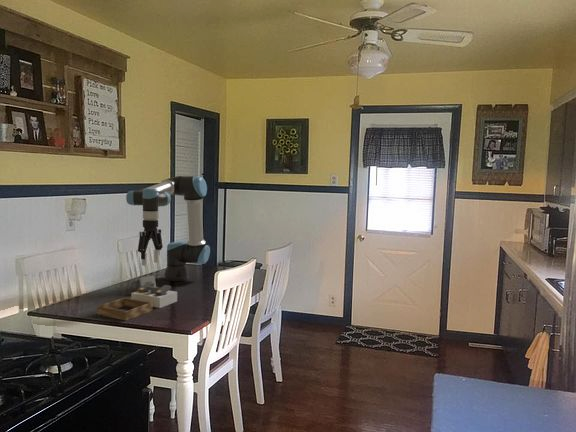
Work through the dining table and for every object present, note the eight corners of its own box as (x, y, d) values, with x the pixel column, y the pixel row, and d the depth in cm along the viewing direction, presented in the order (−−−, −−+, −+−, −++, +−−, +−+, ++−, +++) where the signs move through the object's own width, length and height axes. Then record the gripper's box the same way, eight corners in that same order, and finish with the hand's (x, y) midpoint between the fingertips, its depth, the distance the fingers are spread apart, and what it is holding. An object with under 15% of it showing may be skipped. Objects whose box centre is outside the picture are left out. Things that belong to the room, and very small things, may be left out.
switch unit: (149, 296, 258) (149, 285, 258) (177, 301, 251) (177, 289, 251) (131, 303, 246) (131, 291, 245) (159, 307, 238) (159, 296, 238)
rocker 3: (165, 287, 250) (164, 284, 249) (171, 288, 248) (170, 285, 248) (155, 294, 243) (154, 291, 243) (161, 295, 241) (161, 292, 241)
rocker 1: (148, 284, 254) (147, 282, 254) (154, 285, 253) (153, 283, 252) (138, 291, 247) (137, 289, 247) (144, 292, 246) (143, 289, 245)
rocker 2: (156, 290, 252) (156, 286, 252) (162, 290, 250) (162, 287, 251) (146, 289, 245) (146, 286, 245) (152, 290, 243) (152, 287, 243)
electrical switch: (142, 295, 261) (141, 278, 261) (137, 294, 265) (136, 277, 264) (157, 292, 269) (156, 275, 268) (151, 291, 272) (150, 275, 272)
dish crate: (124, 305, 241) (124, 297, 240) (152, 310, 234) (152, 302, 233) (97, 314, 225) (97, 306, 224) (126, 320, 218) (126, 311, 217)
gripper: (158, 217, 253) (158, 259, 255) (129, 220, 233) (129, 266, 235) (170, 218, 250) (169, 261, 252) (141, 221, 230) (141, 268, 232)
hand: (150, 263), depth 244 cm, fingers open, 9 cm apart
